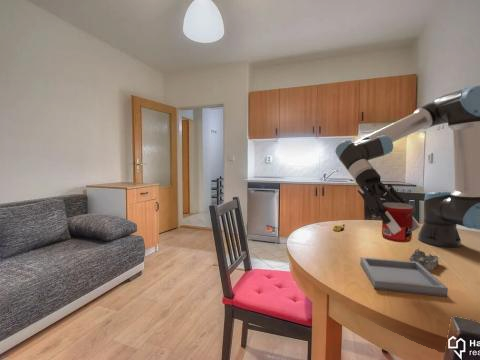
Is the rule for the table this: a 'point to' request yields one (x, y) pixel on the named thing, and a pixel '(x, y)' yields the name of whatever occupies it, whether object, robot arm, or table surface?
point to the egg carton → (424, 259)
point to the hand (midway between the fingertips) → (407, 230)
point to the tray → (402, 277)
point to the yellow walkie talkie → (338, 228)
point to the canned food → (399, 222)
